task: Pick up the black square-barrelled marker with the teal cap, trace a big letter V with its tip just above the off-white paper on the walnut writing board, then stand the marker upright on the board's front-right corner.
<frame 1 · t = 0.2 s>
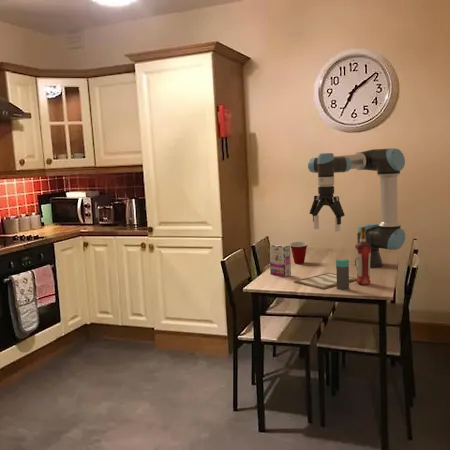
hand: (326, 230, 247), 27 cm above the table, fingers open, 13 cm apart
liquor: (363, 284, 249), on the table
writing board: (326, 281, 259), on the table
candy bar box: (280, 275, 277), on the table
plastic cup: (299, 263, 304), on the table
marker: (343, 288, 242), on the table
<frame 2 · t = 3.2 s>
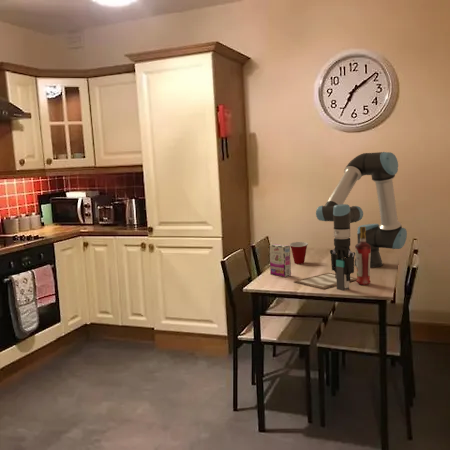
hand: (342, 286, 242), 1 cm above the table, fingers closed on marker, 4 cm apart
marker: (342, 288, 242), on the table, touching gripper
everything else where it was.
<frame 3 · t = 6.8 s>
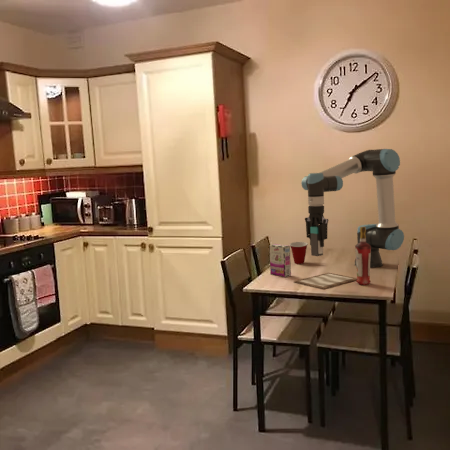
hand: (317, 252, 250), 16 cm above the table, fingers closed on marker, 4 cm apart
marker: (317, 255, 250), point 15 cm above the table, touching gripper
everything else where it was.
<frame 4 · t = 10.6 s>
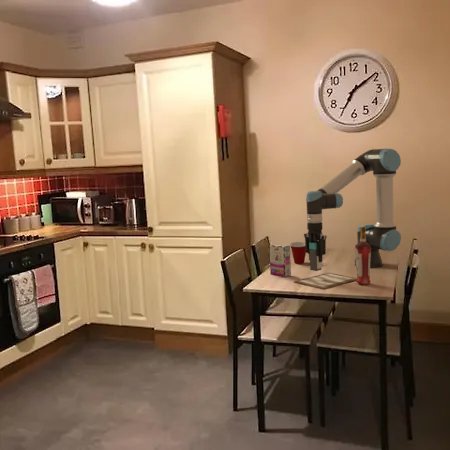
hand: (315, 267, 260), 7 cm above the table, fingers closed on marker, 4 cm apart
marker: (315, 269, 261), point 5 cm above the table, touching gripper
everything else where it was.
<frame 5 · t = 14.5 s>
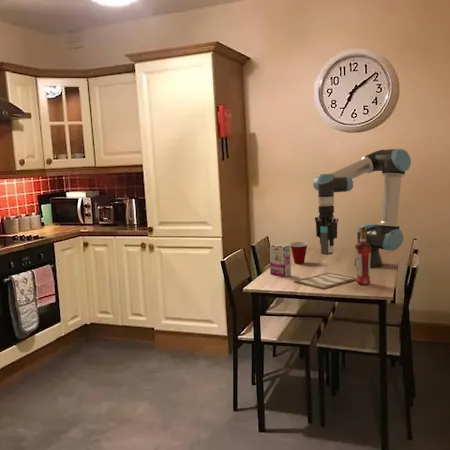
hand: (326, 251, 257), 15 cm above the table, fingers closed on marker, 4 cm apart
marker: (326, 253, 257), point 14 cm above the table, touching gripper
everything else where it was.
when the fingers open (4 cm above the table, at t = 18.1 s): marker drops 2 cm, resting on writing board.
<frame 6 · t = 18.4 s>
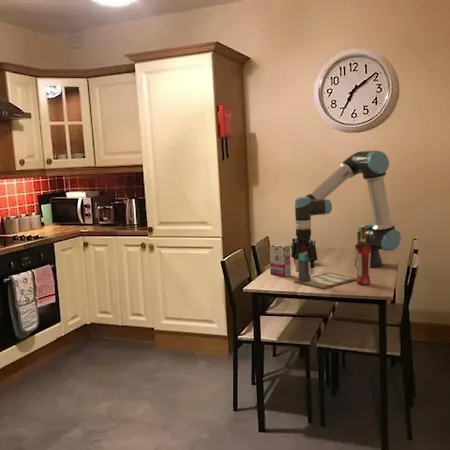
hand: (304, 272, 257), 5 cm above the table, fingers open, 8 cm apart
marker: (304, 280, 258), point 1 cm above the table, touching writing board
everything else where it was.
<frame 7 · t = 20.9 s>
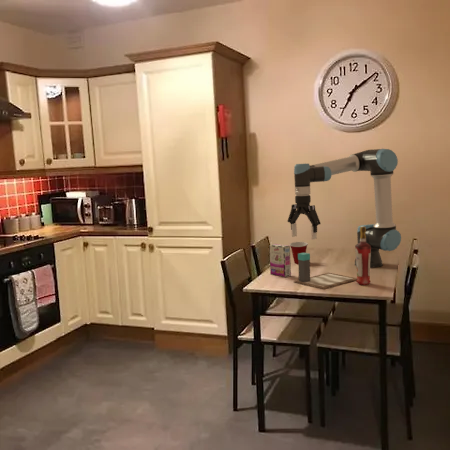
hand: (304, 237, 255), 23 cm above the table, fingers open, 13 cm apart
nothing on the table moved.
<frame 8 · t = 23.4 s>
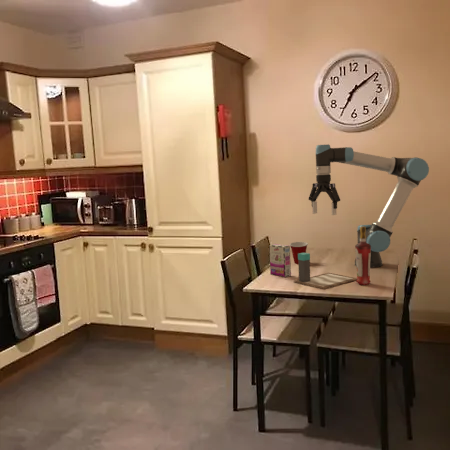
hand: (324, 214, 273), 32 cm above the table, fingers open, 13 cm apart
nothing on the table moved.
at the end: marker inside the target area on the writing board (0.1 cm from its centre), point 0.7 cm above the writing board's base; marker tilted 0°; the gripper is holding nothing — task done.
